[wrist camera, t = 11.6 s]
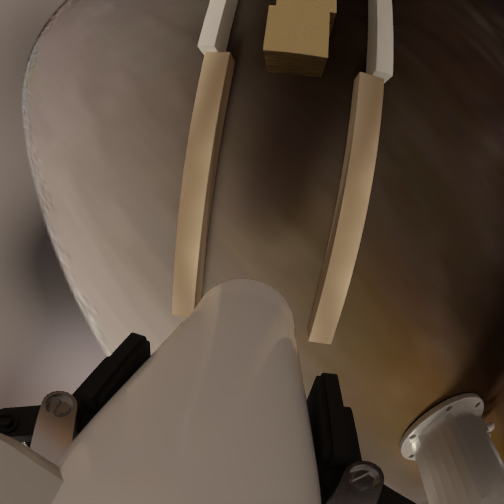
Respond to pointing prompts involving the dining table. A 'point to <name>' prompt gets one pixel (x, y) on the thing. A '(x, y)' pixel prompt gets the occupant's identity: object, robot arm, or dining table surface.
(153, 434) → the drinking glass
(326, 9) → the tan cube
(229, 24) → the u-shaped frame
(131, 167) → the dining table surface
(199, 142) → the channel
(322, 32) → the wooden cube
